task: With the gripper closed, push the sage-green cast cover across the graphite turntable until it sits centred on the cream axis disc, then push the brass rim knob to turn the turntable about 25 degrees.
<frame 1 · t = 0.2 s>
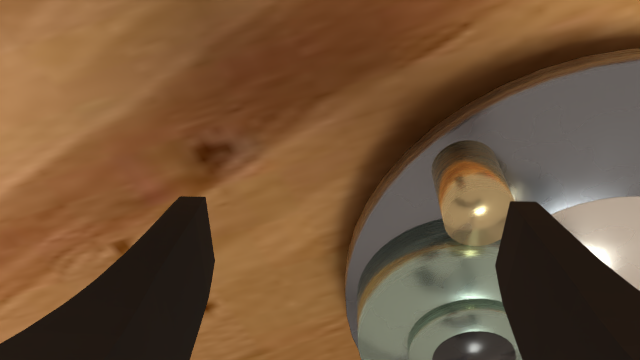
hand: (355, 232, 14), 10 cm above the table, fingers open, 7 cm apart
turntable platter: (605, 313, 24), point 4 cm above the table, hinge at 0.0°, touching cover
cover: (459, 296, 25), point 3 cm above the table, touching turntable platter
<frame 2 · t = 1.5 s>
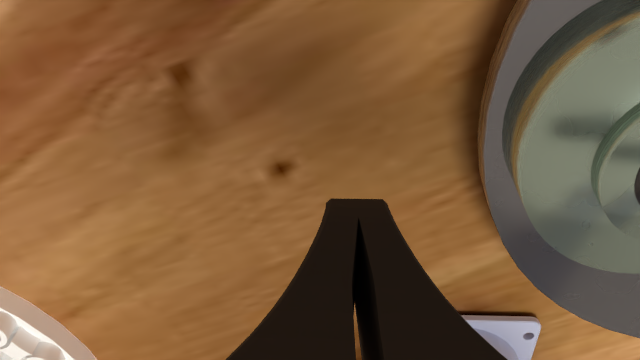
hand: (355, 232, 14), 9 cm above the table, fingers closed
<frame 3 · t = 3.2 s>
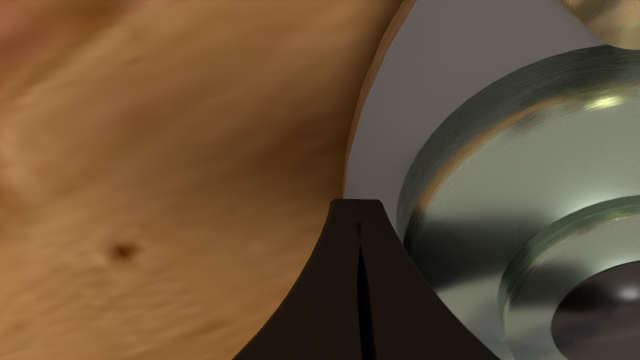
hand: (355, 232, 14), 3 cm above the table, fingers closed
cover: (576, 216, 14), point 3 cm above the table, touching gripper, turntable platter
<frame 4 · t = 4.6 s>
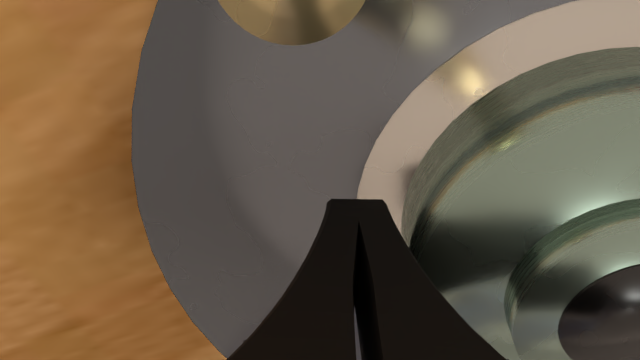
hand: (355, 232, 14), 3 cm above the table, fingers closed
turntable platter: (588, 238, 13), point 4 cm above the table, hinge at 0.0°, touching cover
cover: (581, 218, 14), point 3 cm above the table, touching turntable platter
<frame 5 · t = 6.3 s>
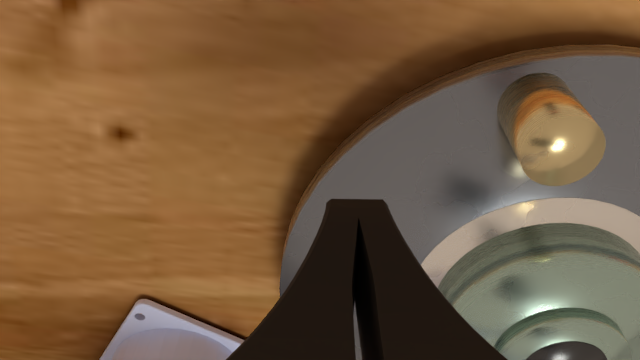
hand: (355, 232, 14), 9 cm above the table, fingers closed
turntable platter: (542, 317, 23), point 4 cm above the table, hinge at 0.0°, touching cover
cover: (538, 304, 24), point 3 cm above the table, touching turntable platter
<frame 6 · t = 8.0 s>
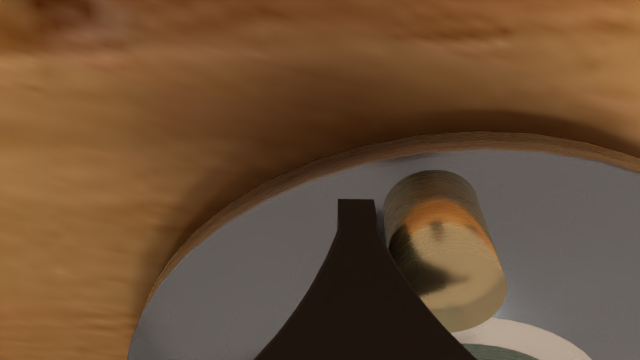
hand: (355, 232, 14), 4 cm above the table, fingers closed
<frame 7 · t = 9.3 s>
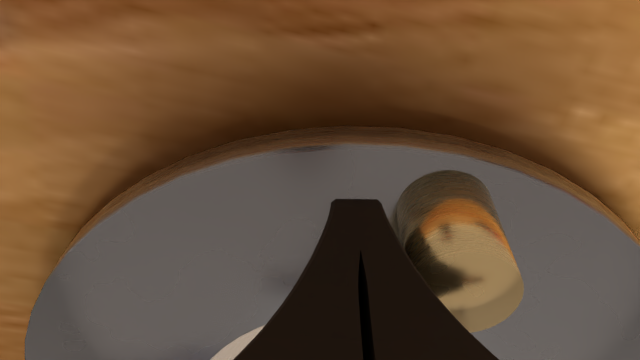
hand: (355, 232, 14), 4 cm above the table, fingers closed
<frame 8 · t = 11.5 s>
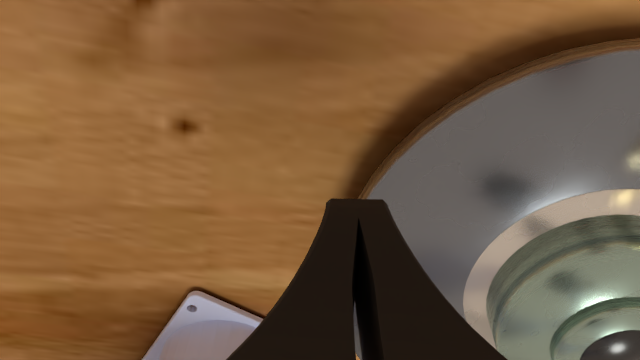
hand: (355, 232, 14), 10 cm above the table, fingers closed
turntable platter: (599, 307, 24), point 4 cm above the table, hinge at -25.5°, touching cover
cover: (590, 295, 25), point 3 cm above the table, touching turntable platter
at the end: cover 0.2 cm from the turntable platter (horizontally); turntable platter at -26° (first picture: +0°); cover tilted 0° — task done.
